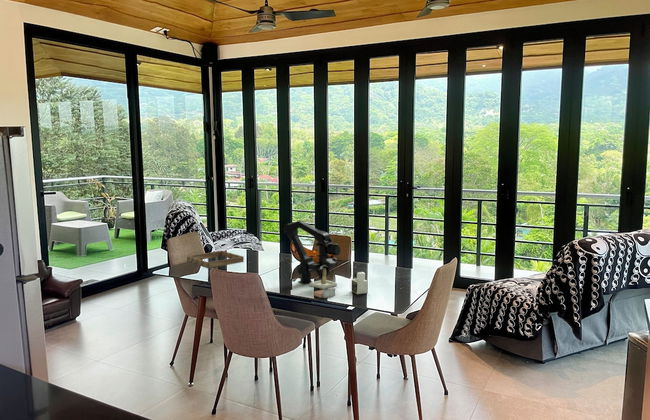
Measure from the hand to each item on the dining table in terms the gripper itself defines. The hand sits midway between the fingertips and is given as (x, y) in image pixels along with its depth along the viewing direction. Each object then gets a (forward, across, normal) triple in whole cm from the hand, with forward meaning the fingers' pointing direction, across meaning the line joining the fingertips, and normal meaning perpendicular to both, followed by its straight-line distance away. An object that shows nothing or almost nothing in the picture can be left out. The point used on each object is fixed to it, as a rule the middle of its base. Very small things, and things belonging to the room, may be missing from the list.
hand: (323, 278), depth 301 cm
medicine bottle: (+4, +6, -24) cm, 25 cm away
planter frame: (+4, -13, +101) cm, 102 cm away
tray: (+4, 0, 0) cm, 4 cm away
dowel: (+3, 0, 0) cm, 3 cm away
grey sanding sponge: (+4, -13, -18) cm, 23 cm away
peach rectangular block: (+5, -14, -14) cm, 20 cm away
